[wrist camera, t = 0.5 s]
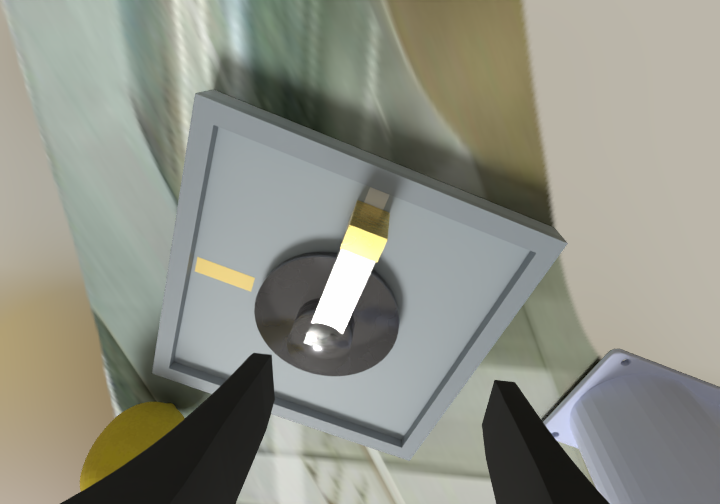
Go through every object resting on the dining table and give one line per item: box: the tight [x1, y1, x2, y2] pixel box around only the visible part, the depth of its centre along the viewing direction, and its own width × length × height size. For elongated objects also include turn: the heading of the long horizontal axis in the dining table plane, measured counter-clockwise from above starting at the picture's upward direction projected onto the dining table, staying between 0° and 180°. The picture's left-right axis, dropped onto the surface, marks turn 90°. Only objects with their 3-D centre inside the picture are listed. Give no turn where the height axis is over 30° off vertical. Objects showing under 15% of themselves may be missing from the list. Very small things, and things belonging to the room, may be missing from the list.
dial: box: [254, 200, 399, 376], centre depth 20 cm, size 11×8×3 cm
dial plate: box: [152, 90, 567, 461], centre depth 22 cm, size 18×18×2 cm
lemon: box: [80, 402, 185, 491], centre depth 26 cm, size 6×6×8 cm
